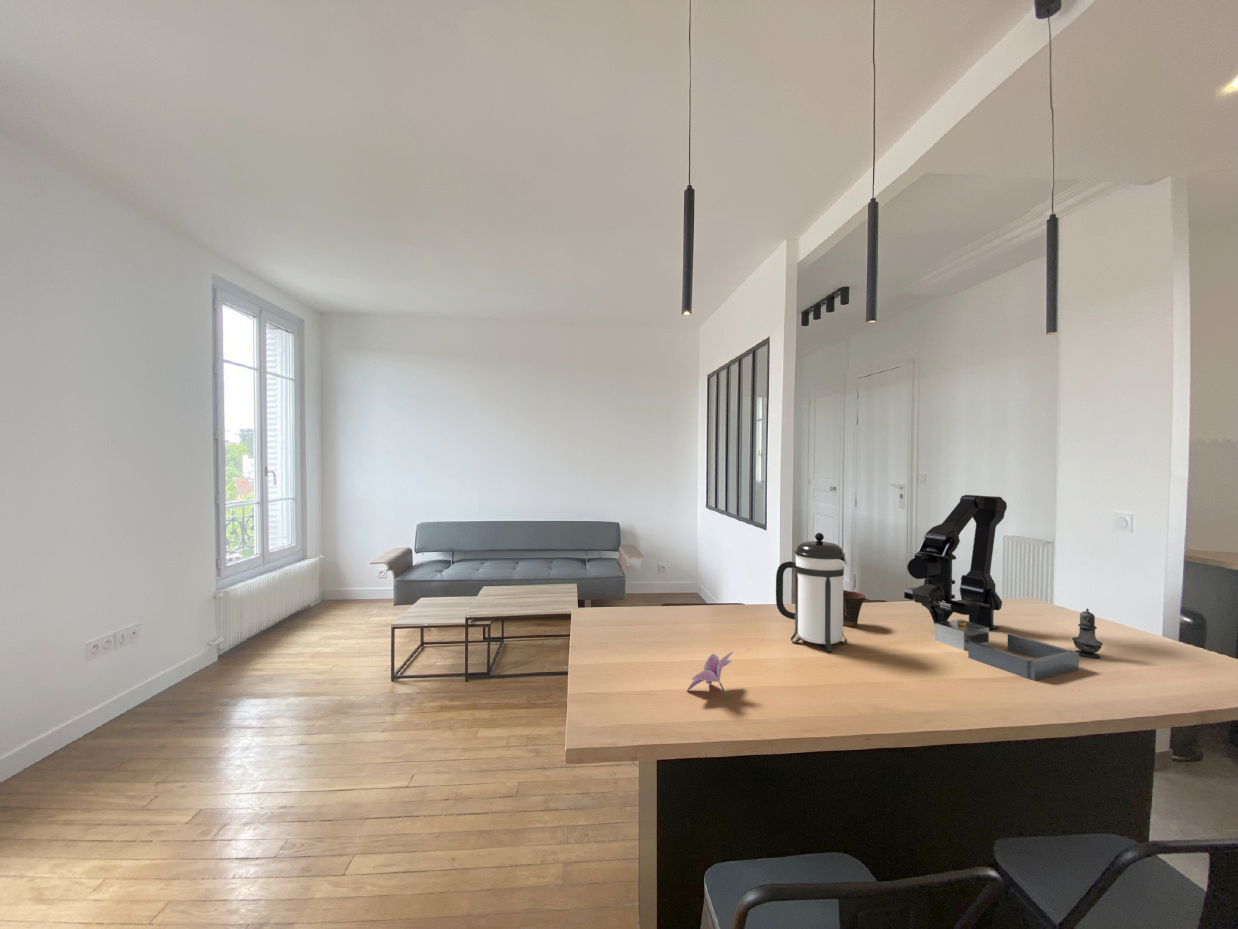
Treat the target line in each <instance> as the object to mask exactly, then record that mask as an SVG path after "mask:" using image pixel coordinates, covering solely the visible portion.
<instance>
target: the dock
mask: <svg viewBox="0 0 1238 929" xmlns="http://www.w3.org/2000/svg"><path fill="white" fill-rule="evenodd" d="M1007 650H1009V651H1011V652H1008V651H1005V650H1002V649H999V648H996V647H992V646H990V645H989V646H987V645H984V644H980V643H977V642H974V641H970V642H968V650H967V651H968V659H972V660H975V661H977V662H981V663H982V664H986V665H989V666H991V667H994V668H996V669H997V668H998V669H999V670H1002V671H1006V672H1008V673H1012V674H1013V675H1014V674H1015V675H1017V676H1020V677H1022V678H1026V679H1029V680H1032V681H1035V682H1036V681H1040V680H1043V679H1047V678H1050V677H1054V676H1059V675H1063V674H1067V673H1071V672H1074V671H1077V670H1079V668H1080V666H1079V660H1080V659H1079V658H1080V656H1079V653H1078V652H1074V651H1075V650H1069V649H1066V648H1063V647H1060V646H1057V645H1053V644H1049V643H1046V642H1043V641H1039V640H1036V639H1031V638H1028V637H1026V636H1025V637H1024V636H1022V635H1017V634H1014V633H1008V634H1007ZM1012 652H1016V653H1018V654H1022V655H1023V656H1021V655H1017V654H1014V653H1012ZM1024 656H1028V657H1031V658H1033V659H1031V658H1027V657H1024Z"/></svg>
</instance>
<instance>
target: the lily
mask: <svg viewBox="0 0 1238 929" xmlns="http://www.w3.org/2000/svg"><path fill="white" fill-rule="evenodd" d="M733 653H734V651H732V652H729V653H728V654H726V655H725V656H723V657H722V658H721V659H720V658H719V657H718V655H717V654H716V653H711V654H710V655H709V657H708V658H707V659H706V661H705V662H704V665H703V670H702V671H701V672H699V673H697V674H696V675H694V676H693V677H692V678H691V683H690V685H689V686H688V688H687V689H686V692H689V691H690V690H691V689H693V688H694V687H695V686H697V685H698V684H700V683H702V682H704V681H705V683H706V684H707V685H709V686H710V685H712V683H713V682H717V683H718V684H719V686H720V687H721V689H722V691H723V693H724V696H725V698H726V700H727V701H730V700H729V697H728V695H727V693H726V691H725V688H724V687H723V684H722V683H721V674H722V669H723V668H724V667H726V666H728V665H729V664H731V663H732V660H730V659H729V657H731V655H733Z"/></svg>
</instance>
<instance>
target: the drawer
mask: <svg viewBox="0 0 1238 929" xmlns="http://www.w3.org/2000/svg"><path fill="white" fill-rule="evenodd" d="M934 641H935V642H939V643H942V644H944V645H947V646H949V647H953V648H957V649H958V650H961V651H968V642H970V641H974V642H977V643H980V644H984V645H987V646H990V630H989V627H985V626H982V625H978V624H975V623H972V622H969V620H968V621H967V620H964V619H960V618H958V619H951V620H947V621H945V622H939V623H935V624H934Z"/></svg>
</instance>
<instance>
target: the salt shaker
mask: <svg viewBox="0 0 1238 929" xmlns="http://www.w3.org/2000/svg"><path fill="white" fill-rule="evenodd" d="M1095 621H1096V615H1095V614H1094V613H1092V612H1090V609H1089V608H1086V609H1085V611H1081V612H1080V613H1079V623H1078V624H1077V626H1078V627H1079V632H1078V633H1079V634H1078V635H1077V636H1075V637H1072V638H1071V640H1072V641H1073V644H1074V646H1075V648H1077V650H1073V651H1074V652H1078V653H1079V657H1082V658H1087V659H1092V660H1093V659H1094V660H1100V659H1102V656H1101V655H1099V654H1098V653H1097V652H1099V651H1100V650H1101V649H1102V646H1103V645H1104V643H1103V642H1102V641H1099V640H1098V639H1097V637H1096V629H1098V628H1097V627H1096V624H1095V623H1096V622H1095Z"/></svg>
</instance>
